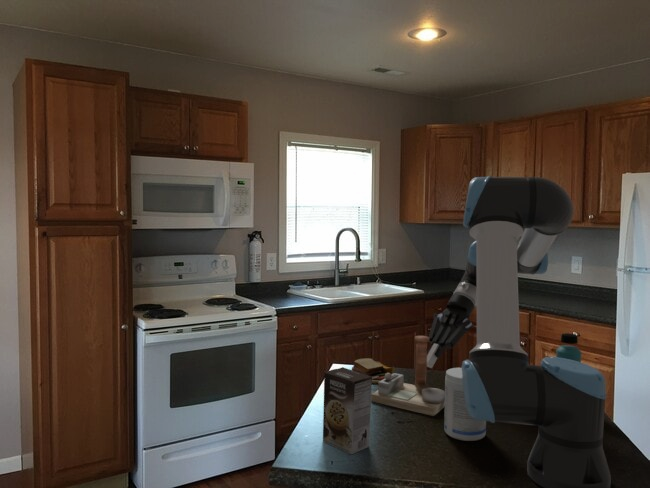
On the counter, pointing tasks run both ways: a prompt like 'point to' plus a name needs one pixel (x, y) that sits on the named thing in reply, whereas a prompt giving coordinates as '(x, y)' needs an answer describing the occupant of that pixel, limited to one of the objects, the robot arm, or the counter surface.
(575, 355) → the beverage bottle
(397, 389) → the stand
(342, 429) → the coffee box
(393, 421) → the counter surface
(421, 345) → the lever
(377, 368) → the toy sandwich meal
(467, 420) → the supplement tub
